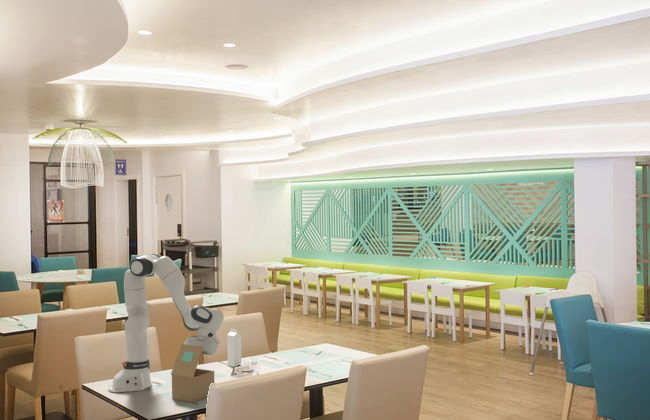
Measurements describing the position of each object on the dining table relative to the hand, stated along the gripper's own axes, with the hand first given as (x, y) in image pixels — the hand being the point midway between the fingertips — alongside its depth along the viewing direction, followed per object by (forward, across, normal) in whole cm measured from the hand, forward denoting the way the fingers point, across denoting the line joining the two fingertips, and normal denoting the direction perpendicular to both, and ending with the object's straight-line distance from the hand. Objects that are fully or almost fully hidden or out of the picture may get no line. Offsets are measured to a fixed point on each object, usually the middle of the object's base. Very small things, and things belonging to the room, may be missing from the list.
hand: (192, 359), depth 329 cm
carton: (+13, 0, +14) cm, 19 cm away
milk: (-30, -23, +57) cm, 68 cm away
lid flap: (+2, 0, -3) cm, 4 cm away
